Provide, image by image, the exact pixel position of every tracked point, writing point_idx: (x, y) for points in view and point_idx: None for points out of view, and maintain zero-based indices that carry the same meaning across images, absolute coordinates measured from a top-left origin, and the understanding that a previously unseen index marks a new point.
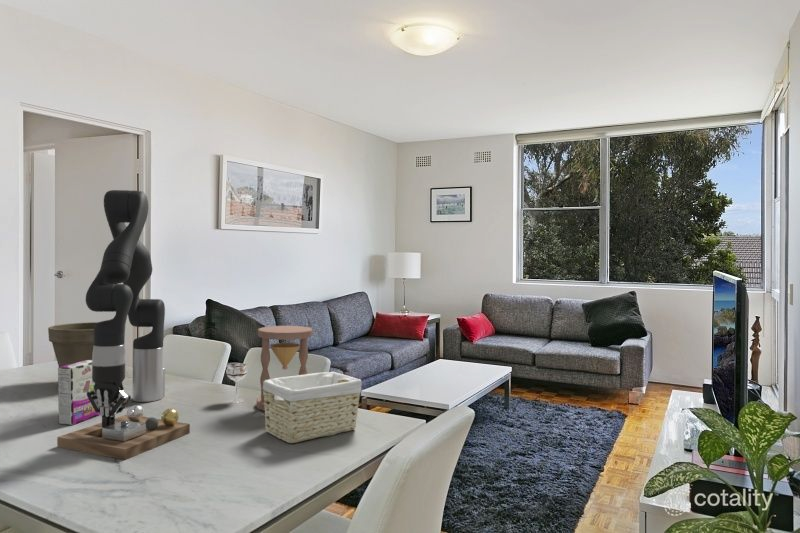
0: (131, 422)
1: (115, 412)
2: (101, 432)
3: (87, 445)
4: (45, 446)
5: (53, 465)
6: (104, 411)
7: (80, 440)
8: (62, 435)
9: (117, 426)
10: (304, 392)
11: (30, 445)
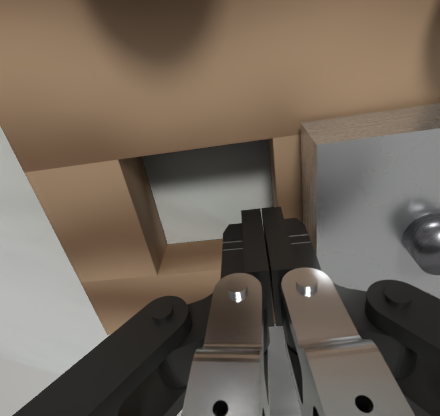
0: (424, 153)
1: (421, 361)
2: (128, 159)
3: None
4: (83, 312)
5: (288, 376)
6: (266, 359)
7: None
8: (100, 318)
9: (387, 264)
10: None
11: (34, 326)
